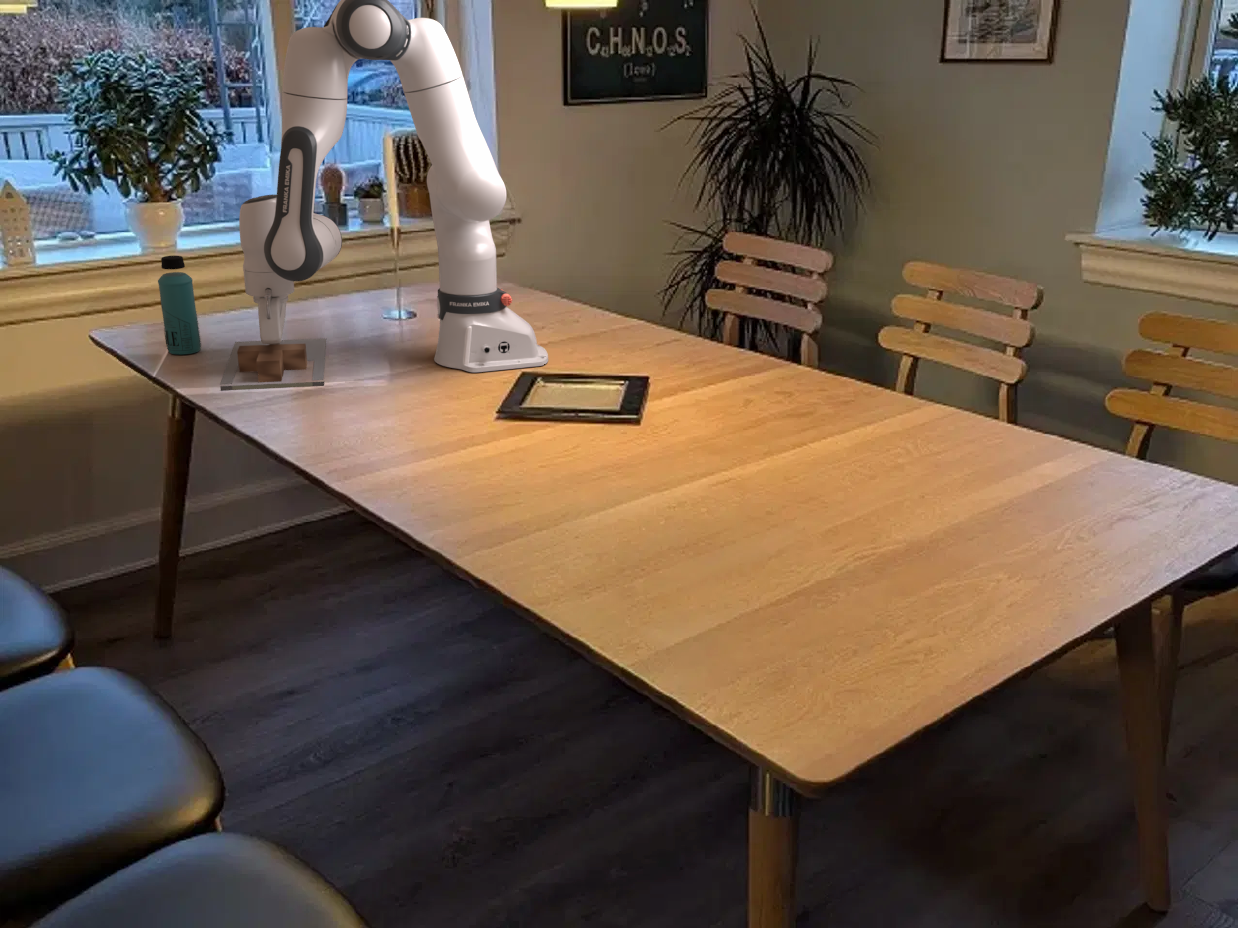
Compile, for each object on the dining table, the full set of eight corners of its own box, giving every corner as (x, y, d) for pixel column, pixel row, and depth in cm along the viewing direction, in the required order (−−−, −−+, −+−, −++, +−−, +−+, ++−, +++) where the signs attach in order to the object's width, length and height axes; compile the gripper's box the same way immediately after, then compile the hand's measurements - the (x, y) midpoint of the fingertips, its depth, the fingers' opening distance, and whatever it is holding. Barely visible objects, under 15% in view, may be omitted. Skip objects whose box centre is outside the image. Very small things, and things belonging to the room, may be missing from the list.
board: (327, 344, 230) (326, 338, 230) (324, 385, 204) (323, 379, 203) (235, 347, 226) (235, 341, 226) (220, 390, 200) (220, 384, 200)
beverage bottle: (208, 353, 222) (196, 253, 214) (193, 363, 216) (180, 260, 208) (177, 352, 222) (164, 252, 215) (161, 361, 216) (147, 258, 209)
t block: (307, 363, 213) (305, 343, 211) (304, 380, 203) (302, 359, 201) (241, 366, 210) (239, 345, 209) (235, 383, 200) (233, 362, 199)
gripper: (284, 295, 200) (291, 369, 205) (288, 271, 219) (294, 340, 224) (247, 296, 199) (255, 370, 204) (255, 272, 217) (262, 341, 222)
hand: (276, 354), depth 214 cm, fingers closed
